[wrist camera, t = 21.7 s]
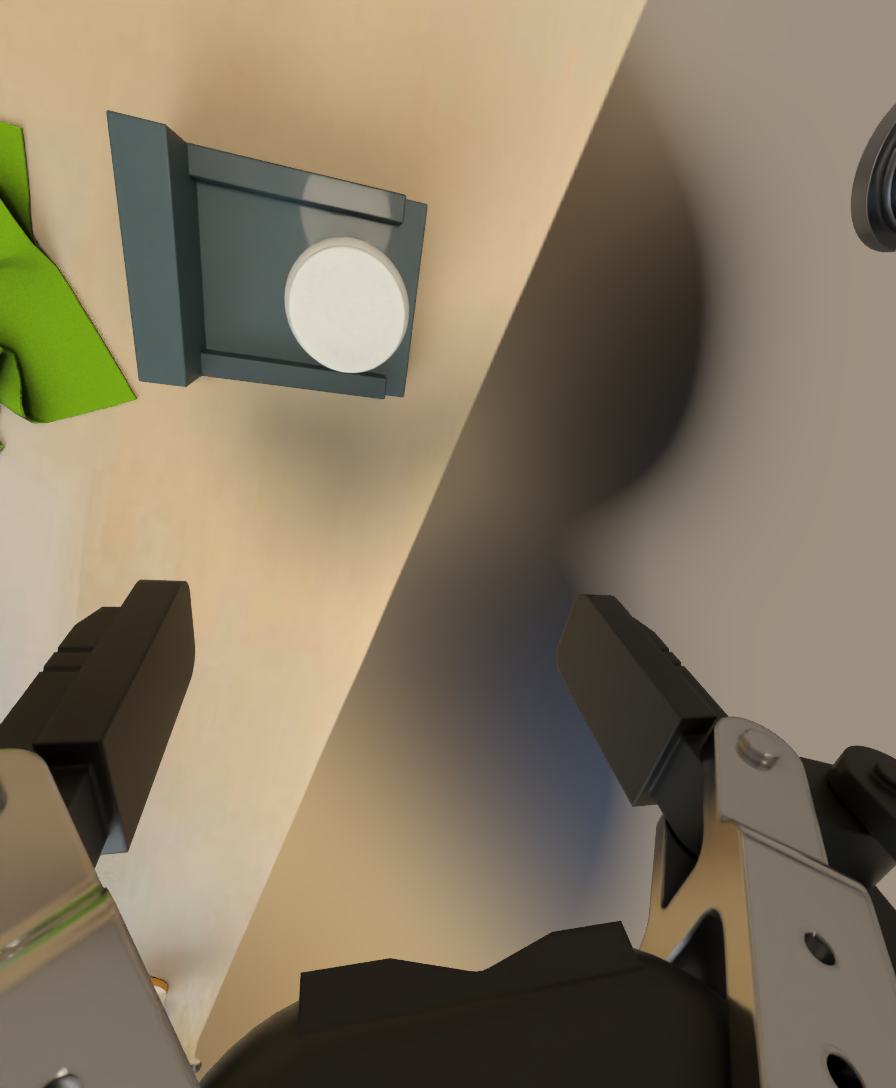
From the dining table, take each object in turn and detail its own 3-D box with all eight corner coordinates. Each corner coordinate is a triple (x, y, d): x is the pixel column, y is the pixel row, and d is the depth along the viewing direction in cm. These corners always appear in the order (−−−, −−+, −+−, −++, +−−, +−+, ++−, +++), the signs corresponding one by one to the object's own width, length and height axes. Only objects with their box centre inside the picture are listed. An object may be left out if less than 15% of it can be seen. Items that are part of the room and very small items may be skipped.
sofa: (420, 209, 32) (443, 192, 25) (399, 389, 37) (413, 415, 30) (162, 149, 28) (105, 109, 21) (179, 359, 33) (138, 381, 26)
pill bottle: (413, 314, 32) (445, 331, 22) (340, 371, 33) (341, 412, 23) (352, 220, 29) (360, 194, 19) (274, 286, 30) (243, 293, 20)
